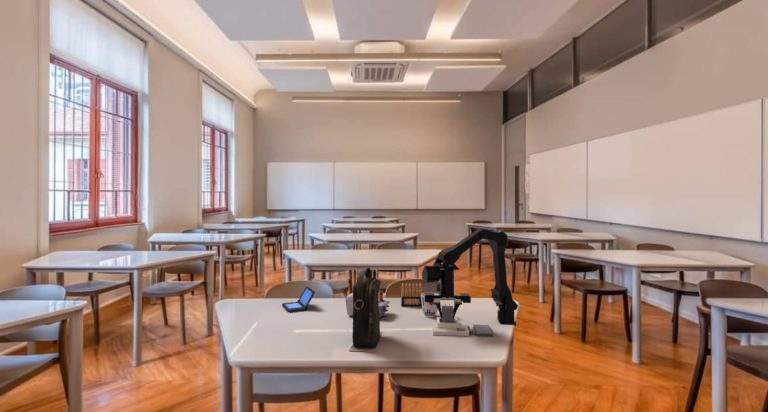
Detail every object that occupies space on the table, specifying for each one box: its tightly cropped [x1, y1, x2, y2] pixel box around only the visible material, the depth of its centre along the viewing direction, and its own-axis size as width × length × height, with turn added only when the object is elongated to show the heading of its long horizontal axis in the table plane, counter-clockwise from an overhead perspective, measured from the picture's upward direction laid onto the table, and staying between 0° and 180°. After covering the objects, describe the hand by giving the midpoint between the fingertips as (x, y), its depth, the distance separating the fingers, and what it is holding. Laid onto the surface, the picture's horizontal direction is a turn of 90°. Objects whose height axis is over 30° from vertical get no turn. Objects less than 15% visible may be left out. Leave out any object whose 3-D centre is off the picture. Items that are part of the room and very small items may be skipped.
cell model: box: [345, 292, 391, 318], centre depth 190 cm, size 13×11×20 cm
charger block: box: [441, 303, 454, 323], centre depth 169 cm, size 4×4×7 cm
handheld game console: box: [281, 285, 315, 313], centre depth 205 cm, size 16×13×9 cm
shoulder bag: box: [348, 266, 383, 353], centre depth 155 cm, size 23×9×28 cm, turn 173°
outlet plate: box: [432, 316, 470, 337], centre depth 167 cm, size 14×14×4 cm
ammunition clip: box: [400, 282, 423, 308], centre depth 206 cm, size 11×2×12 cm, turn 85°
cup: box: [421, 292, 440, 318], centre depth 188 cm, size 8×8×10 cm
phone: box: [472, 324, 494, 338], centre depth 165 cm, size 6×12×1 cm, turn 174°
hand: (447, 318), depth 169 cm, fingers closed on charger block, 4 cm apart
